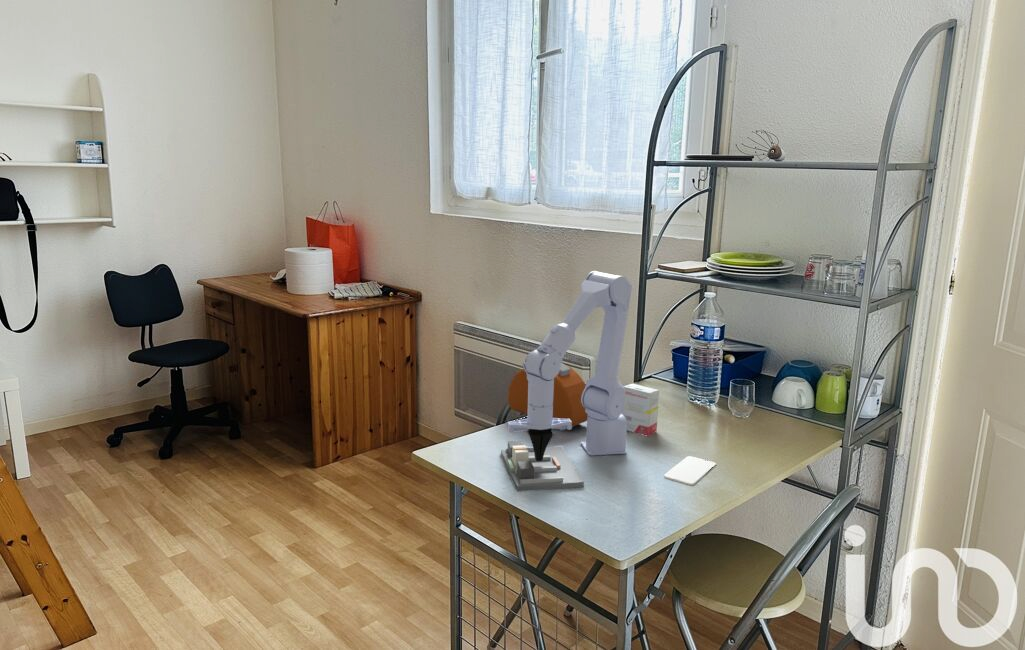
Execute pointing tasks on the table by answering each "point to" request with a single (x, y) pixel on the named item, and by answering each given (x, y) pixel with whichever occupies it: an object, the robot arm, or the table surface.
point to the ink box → (641, 409)
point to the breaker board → (542, 470)
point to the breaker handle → (519, 454)
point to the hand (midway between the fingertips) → (538, 459)
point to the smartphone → (689, 470)
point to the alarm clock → (564, 395)
